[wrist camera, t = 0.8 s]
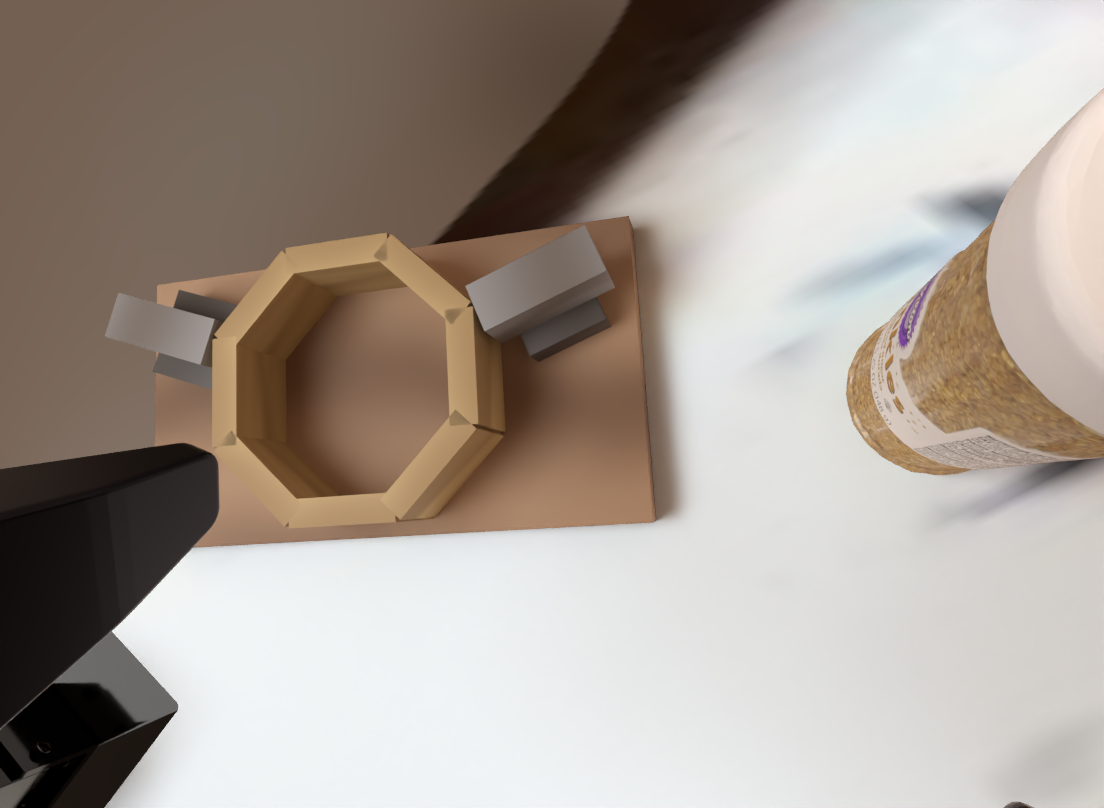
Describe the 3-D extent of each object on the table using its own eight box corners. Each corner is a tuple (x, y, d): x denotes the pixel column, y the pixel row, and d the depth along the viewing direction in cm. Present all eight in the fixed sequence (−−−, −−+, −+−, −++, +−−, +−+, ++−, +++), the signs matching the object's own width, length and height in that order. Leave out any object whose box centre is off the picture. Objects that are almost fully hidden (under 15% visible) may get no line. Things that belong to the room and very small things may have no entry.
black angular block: (107, 547, 26) (-18, 557, 22) (237, 688, 25) (131, 730, 20) (-92, 811, 27) (-252, 873, 22) (22, 969, 25) (-129, 1070, 21)
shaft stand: (656, 521, 21) (643, 526, 18) (175, 547, 25) (86, 555, 22) (632, 228, 23) (616, 179, 19) (178, 293, 26) (94, 262, 23)
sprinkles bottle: (855, 305, 21) (1072, -8, 8) (1033, 325, 20) (1628, 0, 7) (831, 463, 21) (1018, 407, 8) (1011, 493, 19) (1597, 488, 6)
